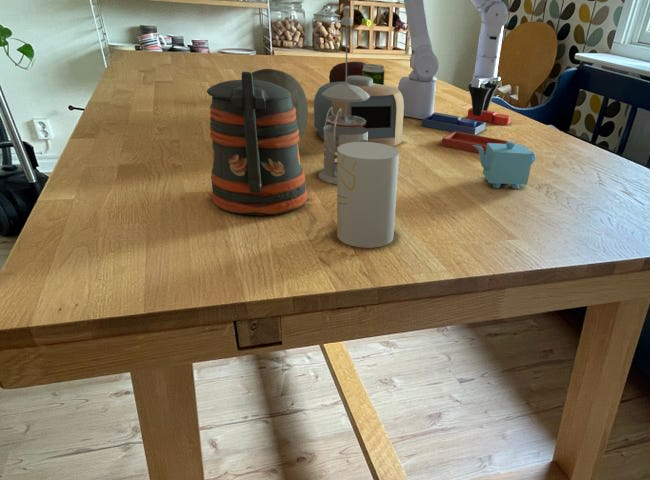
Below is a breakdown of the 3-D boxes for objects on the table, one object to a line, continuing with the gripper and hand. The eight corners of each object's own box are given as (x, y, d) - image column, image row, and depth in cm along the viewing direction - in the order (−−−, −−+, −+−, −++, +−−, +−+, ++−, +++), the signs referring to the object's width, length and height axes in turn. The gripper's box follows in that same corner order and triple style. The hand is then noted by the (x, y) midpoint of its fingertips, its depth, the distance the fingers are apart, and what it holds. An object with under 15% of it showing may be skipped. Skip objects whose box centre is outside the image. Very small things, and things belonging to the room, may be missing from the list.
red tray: (441, 145, 123) (442, 138, 122) (454, 138, 129) (454, 131, 128) (501, 157, 119) (502, 149, 118) (511, 149, 125) (512, 141, 124)
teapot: (470, 187, 101) (476, 144, 96) (464, 176, 106) (470, 135, 101) (533, 190, 102) (542, 148, 97) (525, 179, 107) (533, 139, 102)
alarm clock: (331, 151, 114) (331, 86, 107) (304, 127, 128) (302, 69, 121) (414, 147, 121) (419, 86, 114) (380, 124, 135) (382, 69, 128)
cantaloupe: (223, 151, 108) (213, 66, 100) (281, 141, 117) (277, 62, 108) (266, 169, 101) (260, 79, 92) (325, 157, 110) (324, 73, 101)
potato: (334, 97, 159) (333, 56, 153) (379, 101, 158) (380, 61, 152) (324, 104, 150) (323, 61, 144) (372, 109, 149) (373, 66, 143)
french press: (379, 173, 104) (386, 17, 89) (355, 191, 95) (359, 21, 80) (332, 164, 106) (331, 11, 91) (304, 181, 97) (298, 15, 82)
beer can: (386, 120, 140) (389, 67, 133) (369, 122, 137) (371, 68, 130) (373, 115, 143) (375, 63, 136) (356, 117, 140) (358, 64, 133)
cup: (337, 224, 82) (337, 140, 75) (391, 225, 83) (396, 143, 76) (336, 246, 76) (337, 157, 69) (395, 248, 77) (401, 160, 70)
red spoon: (465, 118, 147) (466, 110, 146) (471, 116, 150) (472, 107, 149) (506, 126, 144) (508, 117, 142) (511, 123, 147) (512, 114, 146)
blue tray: (421, 125, 137) (422, 119, 136) (433, 120, 143) (434, 113, 142) (474, 135, 133) (475, 128, 132) (484, 129, 139) (485, 122, 138)
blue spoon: (429, 123, 138) (430, 114, 137) (436, 120, 141) (436, 111, 140) (472, 131, 134) (473, 121, 133) (478, 128, 138) (479, 118, 136)
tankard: (318, 227, 81) (315, 76, 69) (213, 232, 77) (191, 73, 65) (300, 184, 95) (296, 54, 84) (212, 186, 92) (194, 50, 80)
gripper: (494, 60, 132) (485, 120, 140) (511, 55, 143) (502, 111, 151) (466, 57, 135) (459, 116, 143) (485, 52, 146) (477, 107, 153)
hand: (479, 113), depth 147 cm, fingers open, 4 cm apart
